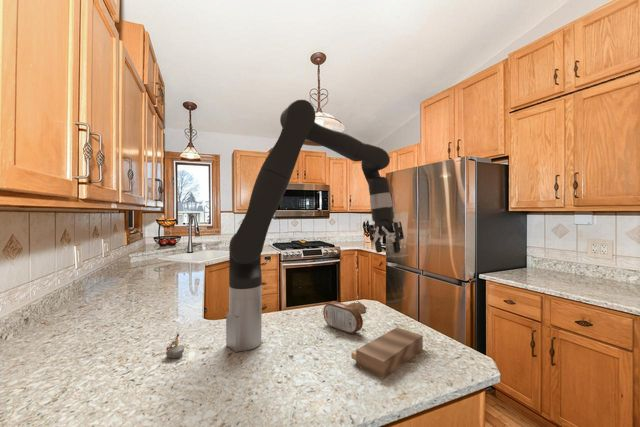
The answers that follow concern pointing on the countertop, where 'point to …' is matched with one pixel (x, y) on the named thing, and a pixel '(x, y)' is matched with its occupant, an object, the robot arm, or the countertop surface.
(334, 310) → the tin
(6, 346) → the countertop surface
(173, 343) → the figurine
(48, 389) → the countertop surface
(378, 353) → the walnut plank
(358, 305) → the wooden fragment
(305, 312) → the countertop surface
